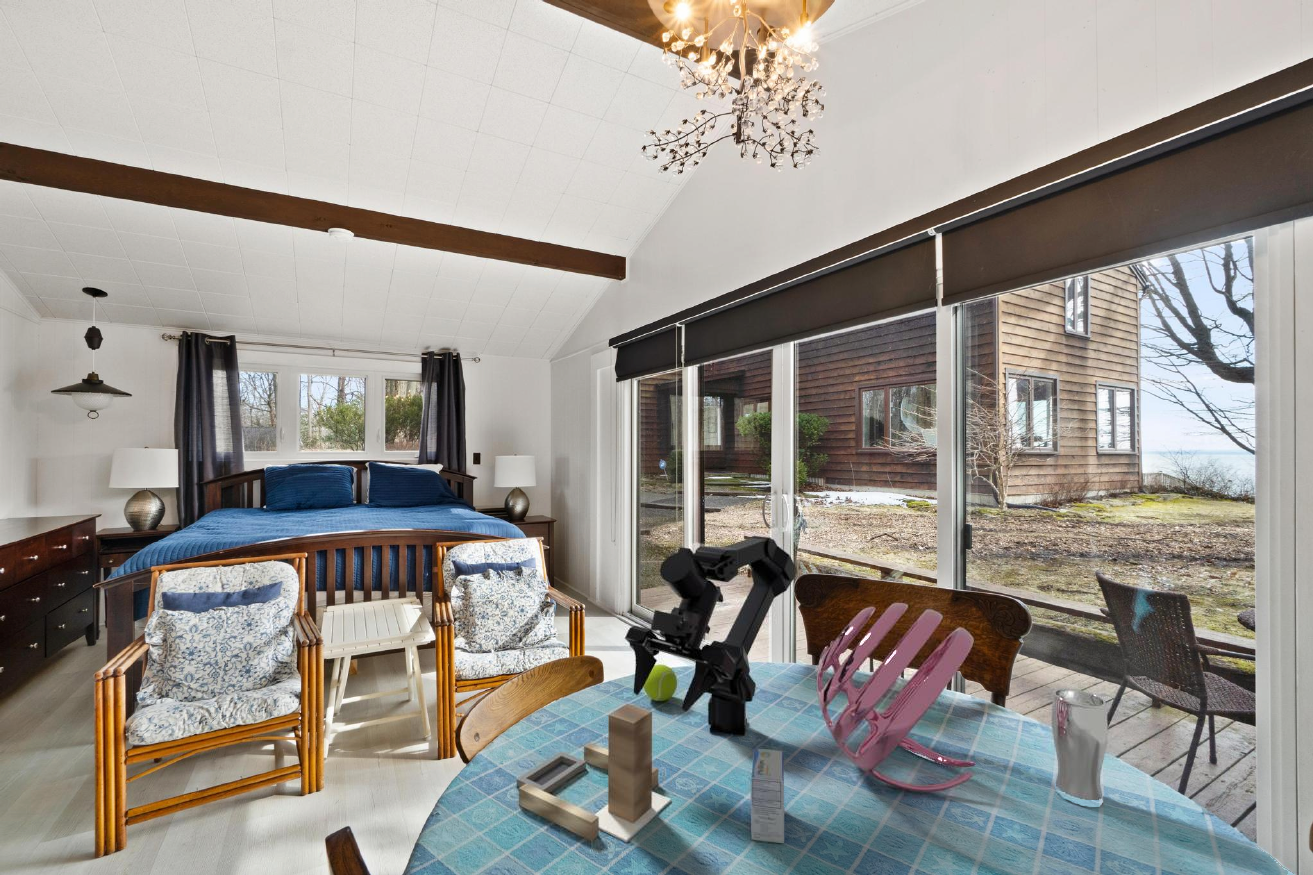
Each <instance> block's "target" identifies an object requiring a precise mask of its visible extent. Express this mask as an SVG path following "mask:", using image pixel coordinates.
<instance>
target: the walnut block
mask: <svg viewBox="0 0 1313 875" xmlns="http://www.w3.org/2000/svg"><path fill="white" fill-rule="evenodd" d="M607 737H608V741H607V742H608V746H607V747H608V748H607V749H608V771H607V772H608V774H607V775H608V776H607V777H608V778H607V779H608V780H607V782H608V783H607V784H608V788H607V791H608V792H607V793H608V794H607V796H608V798H607V800H608V802H607V804H608V812H609V813H611V814H613V815H616V816H618V817H620V818H622V819H624V820H627V821H629V822H631V823H633V824H634V823H635V822H636V821H637V820H638V819H639V818H640V817H641V816H642V815H644V814H645V813H646V812H647V811H648V810H649V809H650V808H651V807H652V792H653V789H652V766H653V711H652V710H649V709H646V708H643V707H640V706H637V705H633V704H631V703H626V704H624V705H622V706H621V707H619V708H617V709H616V710H614V711H612V712H611V713H609V714H608V736H607Z"/></svg>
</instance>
